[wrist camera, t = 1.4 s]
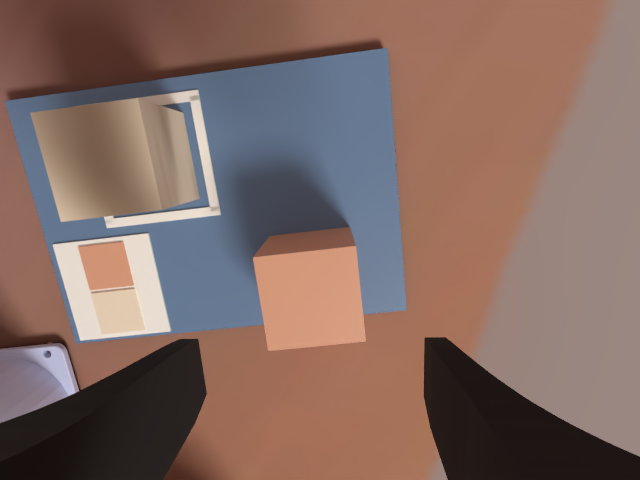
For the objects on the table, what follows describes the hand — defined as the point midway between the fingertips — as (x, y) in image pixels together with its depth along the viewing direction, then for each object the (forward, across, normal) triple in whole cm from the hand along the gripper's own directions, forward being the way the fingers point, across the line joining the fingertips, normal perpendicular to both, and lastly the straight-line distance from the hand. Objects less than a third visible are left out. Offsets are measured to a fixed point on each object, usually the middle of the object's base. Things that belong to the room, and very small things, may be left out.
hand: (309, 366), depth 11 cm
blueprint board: (+10, +6, -4) cm, 12 cm away
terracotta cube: (+9, +1, 0) cm, 9 cm away
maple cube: (+9, +9, -6) cm, 14 cm away
